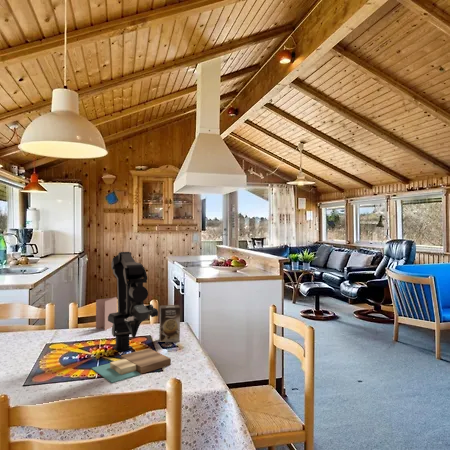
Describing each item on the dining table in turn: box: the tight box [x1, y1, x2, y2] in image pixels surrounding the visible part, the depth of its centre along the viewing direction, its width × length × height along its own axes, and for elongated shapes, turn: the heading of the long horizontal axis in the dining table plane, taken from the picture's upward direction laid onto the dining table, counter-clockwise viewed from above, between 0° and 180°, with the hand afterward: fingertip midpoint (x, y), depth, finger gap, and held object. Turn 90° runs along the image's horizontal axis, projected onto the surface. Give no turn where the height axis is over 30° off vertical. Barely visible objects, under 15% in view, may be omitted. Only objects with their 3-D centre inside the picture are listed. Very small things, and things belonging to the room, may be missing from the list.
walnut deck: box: [120, 347, 172, 375], centre depth 147 cm, size 16×13×2 cm
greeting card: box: [95, 296, 118, 331], centre depth 197 cm, size 11×7×15 cm, turn 130°
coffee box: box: [158, 304, 181, 343], centre depth 176 cm, size 9×6×16 cm
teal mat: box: [91, 362, 141, 384], centre depth 139 cm, size 17×11×1 cm, turn 42°
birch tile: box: [109, 358, 136, 375], centre depth 140 cm, size 9×6×2 cm, turn 42°
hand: (133, 337), depth 145 cm, fingers closed
